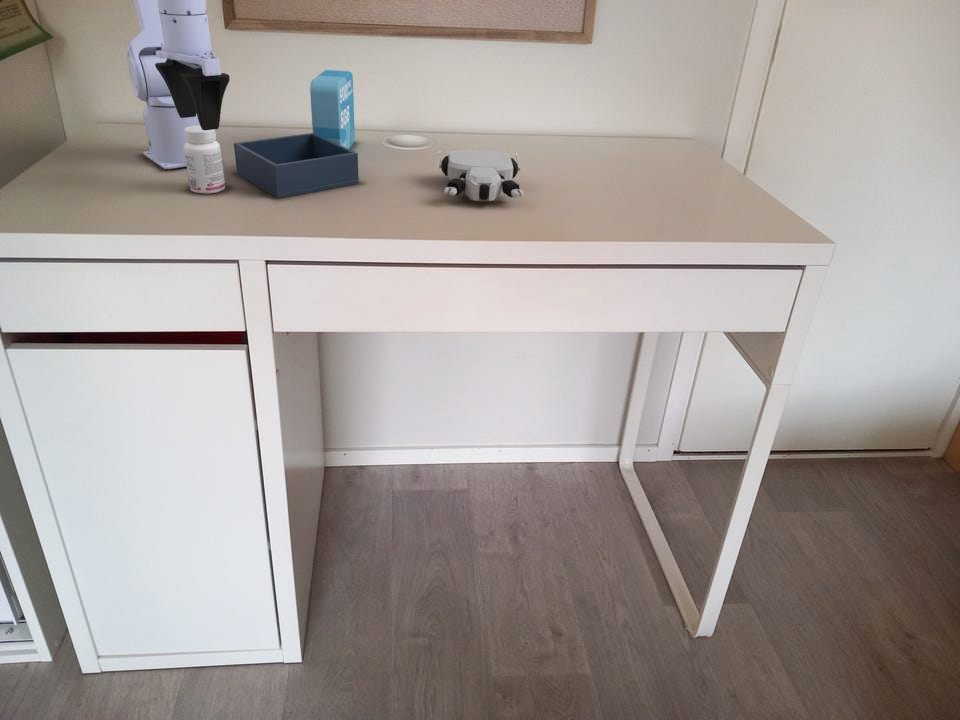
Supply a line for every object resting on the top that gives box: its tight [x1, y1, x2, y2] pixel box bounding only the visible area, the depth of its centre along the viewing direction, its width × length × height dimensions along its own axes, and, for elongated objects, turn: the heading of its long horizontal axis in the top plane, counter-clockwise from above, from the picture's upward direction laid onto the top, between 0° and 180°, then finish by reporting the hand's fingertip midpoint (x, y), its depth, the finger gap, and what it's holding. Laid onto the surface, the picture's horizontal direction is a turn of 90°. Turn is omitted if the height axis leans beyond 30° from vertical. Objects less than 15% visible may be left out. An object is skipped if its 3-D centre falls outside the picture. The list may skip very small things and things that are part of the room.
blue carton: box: [309, 69, 356, 149], centre depth 122 cm, size 12×4×12 cm, turn 178°
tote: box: [233, 132, 360, 199], centre depth 109 cm, size 13×13×5 cm
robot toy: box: [438, 148, 525, 203], centre depth 109 cm, size 12×4×15 cm
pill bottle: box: [184, 125, 226, 195], centre depth 102 cm, size 5×5×8 cm
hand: (198, 123), depth 99 cm, fingers open, 7 cm apart
